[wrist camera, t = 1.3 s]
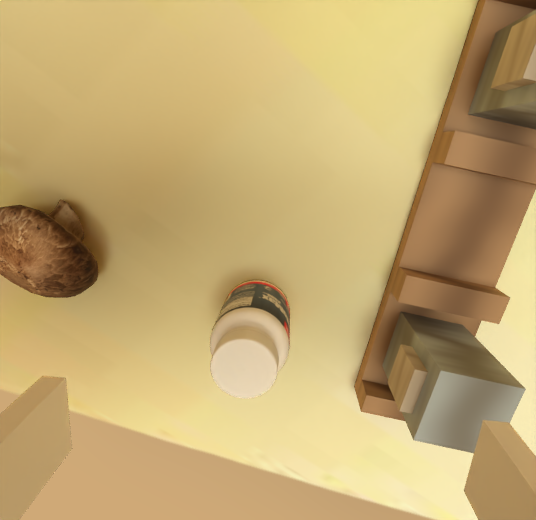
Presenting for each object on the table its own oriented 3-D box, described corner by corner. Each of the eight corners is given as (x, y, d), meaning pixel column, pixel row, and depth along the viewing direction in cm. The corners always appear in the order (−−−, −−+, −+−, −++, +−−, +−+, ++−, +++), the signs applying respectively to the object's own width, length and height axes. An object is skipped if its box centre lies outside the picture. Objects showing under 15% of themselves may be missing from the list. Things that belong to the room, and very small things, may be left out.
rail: (354, 386, 32) (378, 476, 23) (485, -22, 23) (602, -125, 15) (437, 404, 32) (493, 501, 23) (599, 3, 23) (784, -85, 15)
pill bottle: (301, 322, 31) (305, 388, 22) (245, 348, 32) (228, 421, 23) (269, 267, 30) (261, 314, 21) (213, 296, 30) (182, 352, 22)
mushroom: (52, 160, 25) (-16, 227, 21) (141, 240, 29) (97, 307, 26) (6, 193, 30) (-57, 253, 26) (88, 258, 34) (45, 317, 30)
